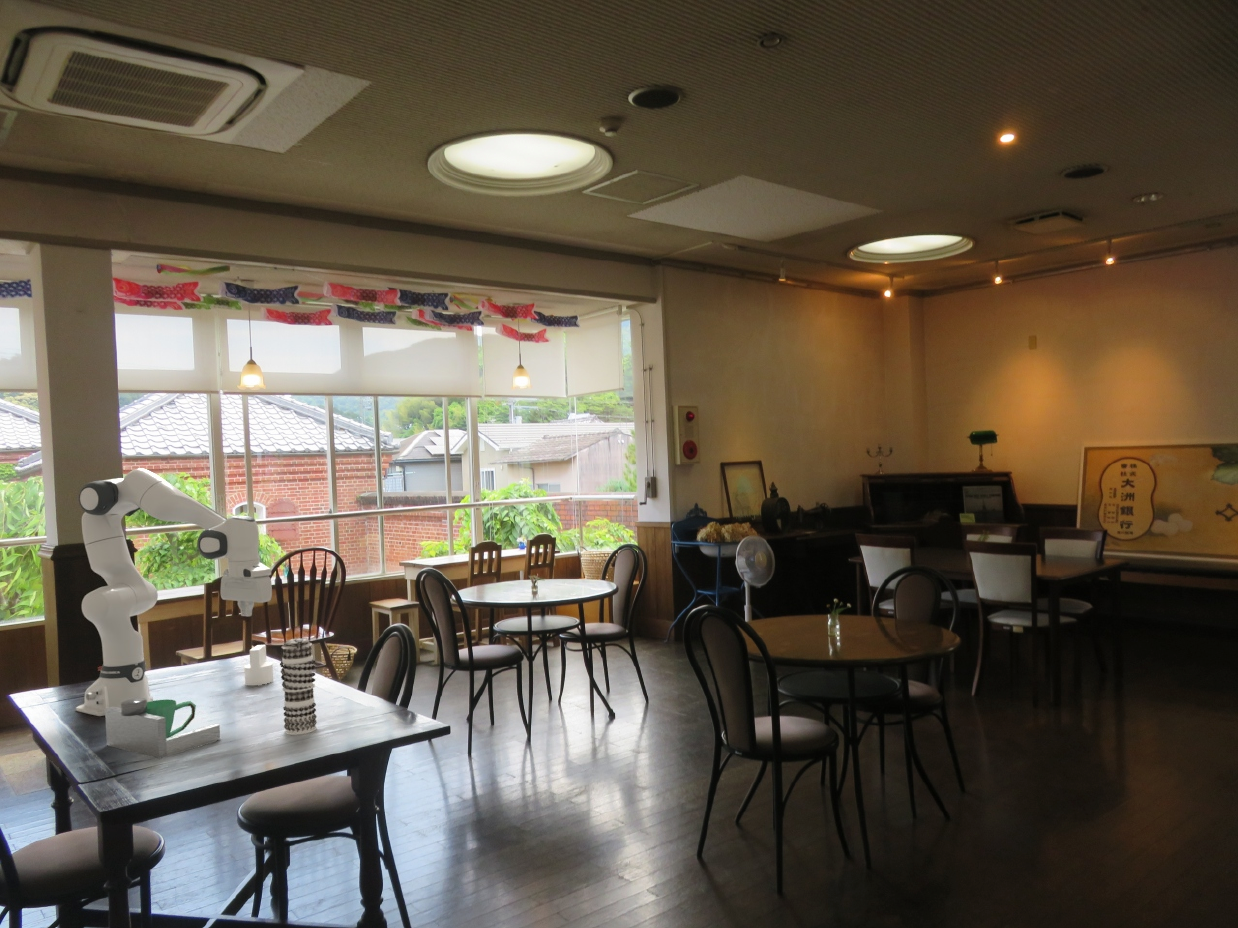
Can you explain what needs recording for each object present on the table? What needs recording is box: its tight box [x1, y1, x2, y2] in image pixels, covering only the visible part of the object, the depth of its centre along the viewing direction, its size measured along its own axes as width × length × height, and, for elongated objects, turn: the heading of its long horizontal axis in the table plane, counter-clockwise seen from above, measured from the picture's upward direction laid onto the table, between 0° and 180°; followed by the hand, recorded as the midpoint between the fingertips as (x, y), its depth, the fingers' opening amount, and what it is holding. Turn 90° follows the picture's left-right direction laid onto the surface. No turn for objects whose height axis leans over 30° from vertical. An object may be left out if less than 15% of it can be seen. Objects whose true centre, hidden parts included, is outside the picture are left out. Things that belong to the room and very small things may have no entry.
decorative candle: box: [279, 637, 318, 736], centre depth 250 cm, size 9×9×25 cm
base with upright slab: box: [243, 644, 274, 686], centre depth 309 cm, size 9×9×12 cm
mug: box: [146, 699, 197, 739], centre depth 246 cm, size 15×10×10 cm
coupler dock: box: [104, 698, 221, 760], centre depth 243 cm, size 19×25×13 cm
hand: (246, 615), depth 270 cm, fingers closed
